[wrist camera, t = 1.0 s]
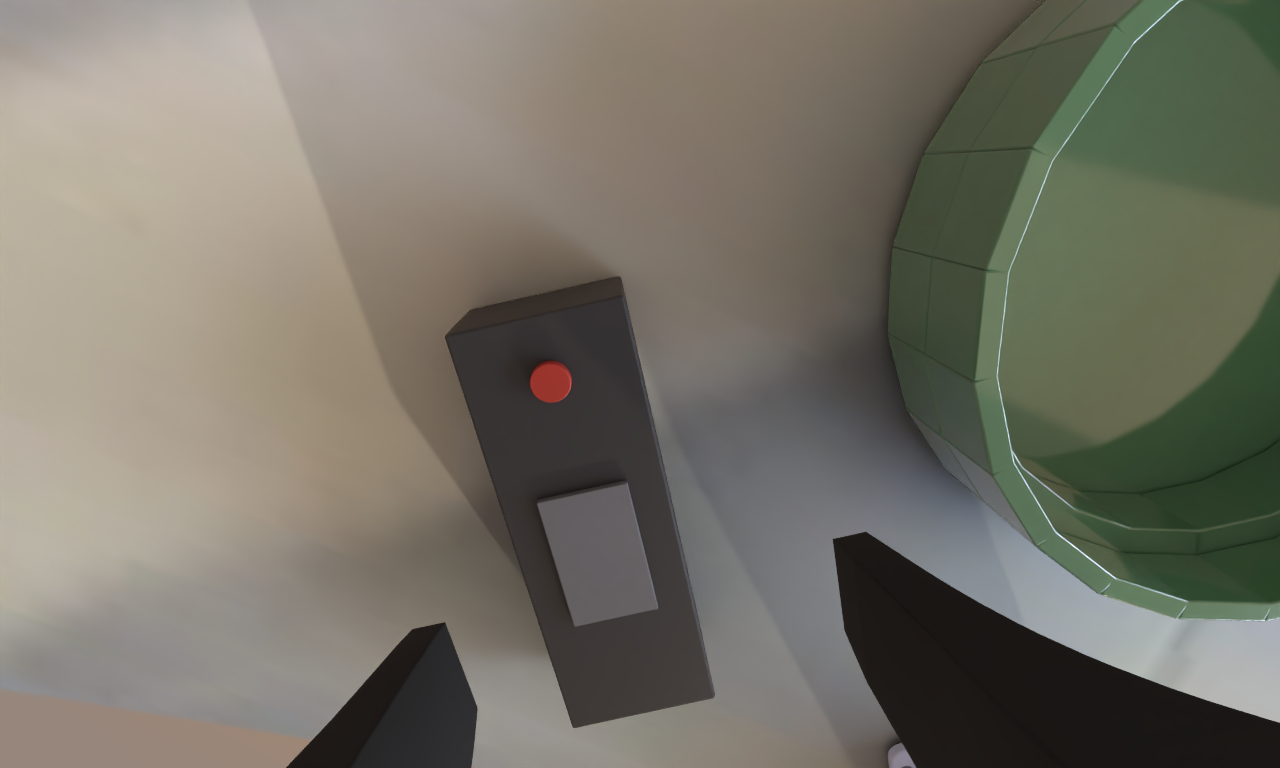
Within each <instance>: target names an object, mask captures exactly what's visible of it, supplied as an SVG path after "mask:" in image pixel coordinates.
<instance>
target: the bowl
mask: <svg viewBox="0 0 1280 768" xmlns="http://www.w3.org/2000/svg"><path fill="white" fill-rule="evenodd" d="M924 154H925V155H923V156H922V159H921V162H920V165H919V168H918V171H917V174H916V177H915V180H914V183H913V186H912V189H911V192H910V195H909V198H908V201H907V204H906V207H905V210H904V213H903V216H902V219H901V222H900V225H899V228H898V231H897V234H896V237H895V240H894V243H893V247H894V248H893V249H892V259H891V278H890V296H889V314H888V339H889V343H890V347H891V351H892V355H893V359H894V363H895V367H896V371H897V375H898V379H899V383H900V387H901V391H902V395H903V399H904V403H905V407H906V408H907V410H908V413H909V414H910V416H911V417H912V419H913V421H914V422H915V424H916V425H917V427H918V428H919V430H920V431H921V433H922V434H923V436H924V437H925V439H926V441H927V442H928V444H929V445H930V447H931V448H932V450H933V451H934V453H935V454H936V456H937V458H938V459H939V461H940V462H941V464H942V465H943V466H944V467H945V469H946V470H947V471H948V472H950V473H951V474H952V475H953V476H954V477H955V478H957V479H958V480H959V481H960V482H961V483H962V484H964V485H965V486H966V487H967V488H968V489H969V490H970V491H972V492H973V493H974V494H975V495H976V496H977V497H979V498H980V499H981V500H982V501H983V502H984V503H986V504H987V505H988V506H989V507H990V508H991V509H992V510H994V511H995V512H996V513H997V514H998V515H999V516H1001V517H1002V518H1003V519H1004V520H1005V521H1006V522H1008V523H1009V524H1010V525H1011V526H1012V527H1013V528H1015V529H1016V530H1017V531H1018V532H1019V533H1020V534H1021V535H1023V536H1024V537H1025V538H1026V539H1027V540H1028V541H1030V542H1031V543H1032V544H1033V545H1034V546H1035V547H1037V548H1038V549H1039V550H1041V551H1042V552H1043V553H1044V554H1046V555H1047V556H1048V557H1050V558H1051V559H1052V560H1054V561H1055V562H1056V563H1058V564H1059V565H1060V566H1062V567H1063V568H1064V569H1066V570H1067V571H1068V572H1070V573H1071V574H1072V575H1074V576H1075V577H1076V578H1078V579H1079V580H1080V581H1081V582H1083V583H1084V584H1085V585H1087V586H1088V587H1089V588H1091V589H1092V590H1093V591H1095V592H1096V593H1098V594H1100V595H1103V596H1106V597H1109V598H1112V599H1116V600H1119V601H1122V602H1125V603H1128V604H1131V605H1134V606H1137V607H1141V608H1144V609H1147V610H1150V611H1153V612H1156V613H1159V614H1162V615H1166V616H1169V617H1172V618H1175V619H1177V618H1178V619H1183V620H1225V621H1264V620H1265V621H1270V620H1275V619H1279V618H1280V0H1045V1H1044V2H1043V3H1042V4H1041V5H1040V6H1039V7H1038V8H1037V9H1036V10H1035V11H1034V12H1033V13H1032V14H1031V15H1030V16H1029V17H1028V18H1027V19H1026V20H1025V21H1024V22H1023V23H1022V24H1021V25H1020V26H1018V27H1017V28H1016V29H1015V30H1014V31H1013V32H1012V33H1011V34H1010V35H1009V36H1008V37H1007V38H1006V39H1005V40H1004V41H1003V42H1002V43H1001V44H1000V45H999V46H998V47H997V48H996V49H995V50H994V51H993V52H992V53H991V54H989V55H988V56H987V57H986V58H985V59H984V60H983V62H982V64H981V65H979V67H978V68H977V70H976V71H975V73H974V74H973V76H972V78H971V79H970V81H969V82H968V84H967V86H966V87H965V89H964V90H963V92H962V93H961V95H960V97H959V98H958V100H957V101H956V103H955V104H954V106H953V108H952V109H951V111H950V112H949V114H948V115H947V117H946V119H945V120H944V122H943V123H942V125H941V127H940V128H939V130H938V131H937V133H936V134H935V136H934V138H933V139H932V141H931V142H930V144H929V145H928V147H927V149H926V150H925V152H924Z"/></svg>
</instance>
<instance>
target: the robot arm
mask: <svg viewBox="0 0 1280 768" xmlns="http://www.w3.org/2000/svg"><path fill="white" fill-rule="evenodd" d="M833 544H834V552H835V559H836V567H837V575H838V583H839V590H840V598H841V606H842V614H843V621H844V629H845V632H846V635H847V637H848V639H849V642H850V644H851V646H852V649H853V651H854V654H855V656H856V658H857V660H858V663H859V665H860V667H861V669H862V672H863V674H864V676H865V679H866V681H867V683H868V685H869V686H870V688H871V690H872V692H873V694H874V695H875V697H876V699H877V701H878V702H879V704H880V706H881V708H882V709H883V711H884V713H885V715H886V716H887V718H888V720H889V722H890V723H891V725H892V727H893V728H894V730H895V732H896V734H897V735H898V737H899V739H900V741H901V742H902V743H899V744H896V745H894V746H893V747H891V749H890V750H889V752H888V763H889V768H1280V723H1278V722H1275V721H1271V720H1268V719H1265V718H1261V717H1258V716H1255V715H1252V714H1249V713H1245V712H1242V711H1239V710H1236V709H1232V708H1229V707H1226V706H1223V705H1219V704H1216V703H1213V702H1210V701H1207V700H1204V699H1201V698H1198V697H1195V696H1192V695H1189V694H1186V693H1183V692H1180V691H1177V690H1174V689H1172V688H1169V687H1166V686H1163V685H1161V684H1158V683H1155V682H1153V681H1150V680H1147V679H1145V678H1142V677H1139V676H1137V675H1134V674H1131V673H1129V672H1126V671H1123V670H1121V669H1118V668H1116V667H1113V666H1111V665H1108V664H1106V663H1103V662H1101V661H1098V660H1096V659H1094V658H1091V657H1089V656H1086V655H1084V654H1082V653H1080V652H1078V651H1075V650H1073V649H1071V648H1069V647H1066V646H1064V645H1062V644H1060V643H1058V642H1055V641H1053V640H1051V639H1049V638H1047V637H1044V636H1042V635H1040V634H1038V633H1036V632H1034V631H1032V630H1030V629H1028V628H1026V627H1024V626H1022V625H1020V624H1018V623H1016V622H1014V621H1012V620H1010V619H1008V618H1007V617H1005V616H1003V615H1001V614H999V613H997V612H995V611H993V610H992V609H990V608H988V607H986V606H984V605H982V604H980V603H979V602H977V601H975V600H973V599H972V598H970V597H968V596H966V595H965V594H963V593H961V592H960V591H958V590H956V589H955V588H953V587H951V586H950V585H948V584H946V583H945V582H943V581H941V580H940V579H938V578H936V577H935V576H933V575H932V574H930V573H928V572H927V571H925V570H924V569H922V568H921V567H919V566H918V565H916V564H914V563H913V562H911V561H910V560H908V559H907V558H905V557H904V556H902V555H901V554H899V553H898V552H896V551H895V550H893V549H891V548H890V547H888V546H887V545H885V544H884V543H882V542H881V541H879V540H878V539H876V538H875V537H873V536H872V535H870V534H869V533H867V532H864V533H859V534H854V535H850V536H845V537H840V538H836V539H833ZM477 709H478V708H477V705H476V703H475V700H474V697H473V695H472V692H471V689H470V687H469V684H468V682H467V679H466V676H465V674H464V671H463V668H462V666H461V663H460V660H459V658H458V655H457V653H456V650H455V647H454V645H453V642H452V639H451V637H450V634H449V631H448V629H447V626H446V624H445V622H444V623H439V624H435V625H430V626H425V627H421V628H416V629H412V630H411V631H410V632H409V633H408V635H407V636H406V637H405V638H404V639H403V640H402V641H401V642H400V643H399V644H398V645H397V646H396V647H395V648H394V650H393V651H392V652H391V653H390V654H389V655H388V656H387V658H386V659H385V660H384V661H383V662H382V663H381V664H380V666H379V667H378V668H377V669H376V670H375V671H374V672H373V674H372V675H371V676H370V677H369V678H368V679H367V680H366V682H365V683H364V684H363V685H362V686H361V687H360V688H359V689H358V691H357V692H356V693H355V694H354V695H353V696H352V697H351V698H350V700H349V701H348V702H347V703H346V704H345V705H344V706H343V707H342V709H341V710H340V711H339V712H338V713H337V714H336V715H335V717H334V718H333V719H332V720H331V721H330V722H329V723H328V724H327V725H326V726H325V727H324V728H323V729H322V730H321V732H320V733H319V734H318V735H317V736H316V737H315V738H314V739H313V740H312V741H311V742H310V743H309V744H308V745H307V746H306V747H305V748H304V749H303V750H302V752H301V753H300V754H299V755H298V756H297V757H296V758H295V759H294V760H293V761H292V762H291V763H290V764H289V765H288V766H287V767H286V768H471V765H472V757H473V749H474V741H475V731H476V720H477Z"/></svg>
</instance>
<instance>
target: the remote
mask: <svg viewBox="0 0 1280 768" xmlns="http://www.w3.org/2000/svg"><path fill="white" fill-rule="evenodd" d="M445 339H446V342H447V345H448V348H449V351H450V354H451V357H452V360H453V363H454V366H455V369H456V372H457V376H458V379H459V382H460V385H461V388H462V391H463V394H464V397H465V400H466V403H467V406H468V409H469V412H470V415H471V418H472V421H473V424H474V427H475V430H476V433H477V437H478V440H479V443H480V446H481V449H482V452H483V455H484V458H485V461H486V464H487V467H488V470H489V473H490V476H491V479H492V482H493V485H494V488H495V491H496V494H497V498H498V501H499V504H500V507H501V510H502V513H503V516H504V519H505V522H506V525H507V528H508V531H509V534H510V537H511V540H512V543H513V546H514V549H515V552H516V555H517V559H518V562H519V565H520V568H521V571H522V574H523V577H524V580H525V583H526V586H527V589H528V592H529V595H530V598H531V601H532V604H533V607H534V610H535V613H536V616H537V620H538V623H539V626H540V629H541V632H542V635H543V638H544V641H545V644H546V647H547V650H548V653H549V656H550V659H551V662H552V665H553V668H554V671H555V674H556V677H557V681H558V684H559V687H560V690H561V693H562V696H563V699H564V702H565V705H566V708H567V711H568V714H569V717H570V720H571V723H572V726H573V728H577V727H582V726H586V725H591V724H596V723H600V722H605V721H609V720H614V719H619V718H623V717H628V716H633V715H637V714H642V713H646V712H651V711H656V710H660V709H665V708H670V707H674V706H679V705H683V704H688V703H693V702H697V701H702V700H707V699H711V698H714V697H715V693H714V688H713V684H712V679H711V674H710V670H709V665H708V660H707V656H706V651H705V646H704V642H703V637H702V632H701V628H700V624H699V619H698V615H697V610H696V606H695V601H694V597H693V593H692V588H691V584H690V579H689V575H688V571H687V566H686V562H685V557H684V553H683V549H682V544H681V540H680V535H679V531H678V527H677V522H676V518H675V513H674V509H673V504H672V500H671V496H670V491H669V487H668V482H667V478H666V474H665V469H664V465H663V460H662V456H661V452H660V447H659V443H658V438H657V434H656V430H655V425H654V421H653V416H652V412H651V407H650V403H649V399H648V394H647V390H646V385H645V381H644V377H643V372H642V368H641V363H640V359H639V355H638V350H637V346H636V341H635V337H634V333H633V328H632V324H631V319H630V315H629V310H628V306H627V302H626V297H625V293H624V288H623V284H622V280H621V277H613V278H609V279H605V280H600V281H596V282H591V283H587V284H583V285H578V286H574V287H569V288H565V289H561V290H556V291H552V292H547V293H543V294H539V295H534V296H530V297H525V298H521V299H517V300H512V301H508V302H503V303H499V304H494V305H490V306H486V307H481V308H477V309H472V310H470V311H469V312H468V313H467V314H466V315H465V316H464V317H463V318H462V319H461V320H460V321H459V322H458V323H457V324H456V325H455V326H454V327H453V328H452V329H451V330H450V331H449V332H448V333H447V335H446V336H445Z"/></svg>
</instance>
